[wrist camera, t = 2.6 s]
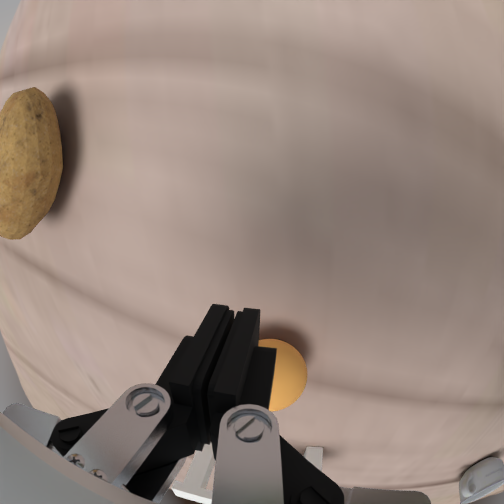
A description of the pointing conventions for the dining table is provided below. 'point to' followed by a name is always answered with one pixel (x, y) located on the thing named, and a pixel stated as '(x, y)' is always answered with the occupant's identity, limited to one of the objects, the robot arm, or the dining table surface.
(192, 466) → the bridge
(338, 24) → the dining table surface
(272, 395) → the ball
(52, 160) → the potato
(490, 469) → the teacup
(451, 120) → the dining table surface
